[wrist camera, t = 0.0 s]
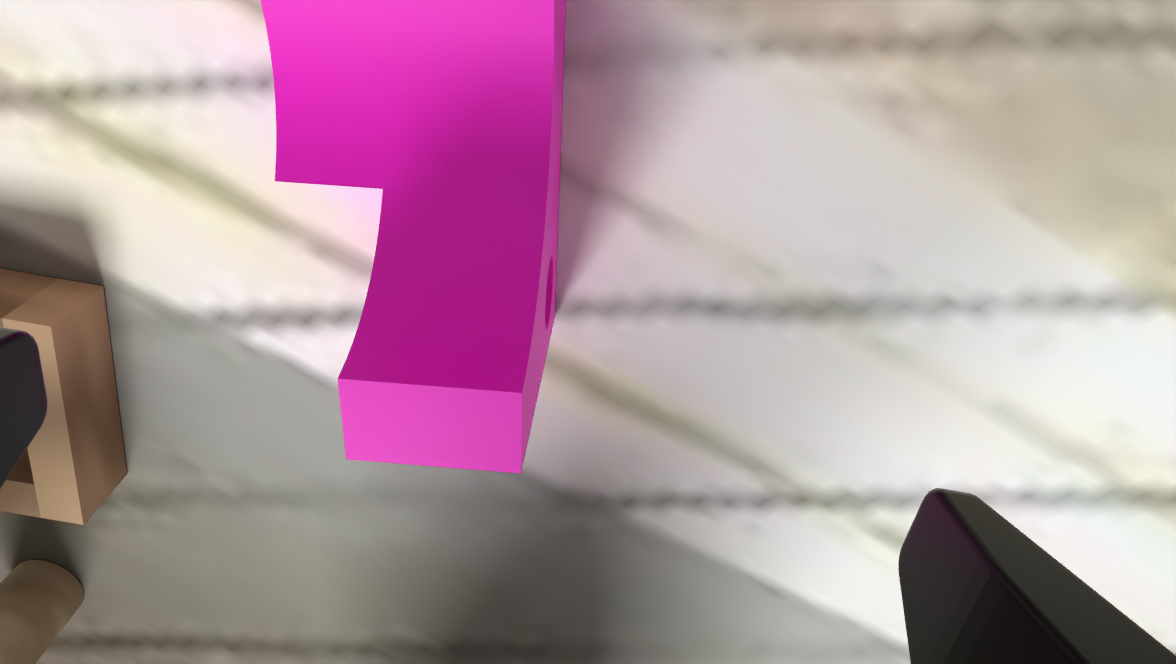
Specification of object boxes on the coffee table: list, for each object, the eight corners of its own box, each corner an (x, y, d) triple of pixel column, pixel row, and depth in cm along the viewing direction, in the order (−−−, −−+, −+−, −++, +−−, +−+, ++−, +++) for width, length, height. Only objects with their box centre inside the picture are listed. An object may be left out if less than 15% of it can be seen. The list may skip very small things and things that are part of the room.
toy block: (277, -354, 18) (58, -483, 11) (579, -339, 18) (534, -461, 11) (341, 295, 25) (231, 449, 18) (555, 311, 25) (520, 473, 18)
